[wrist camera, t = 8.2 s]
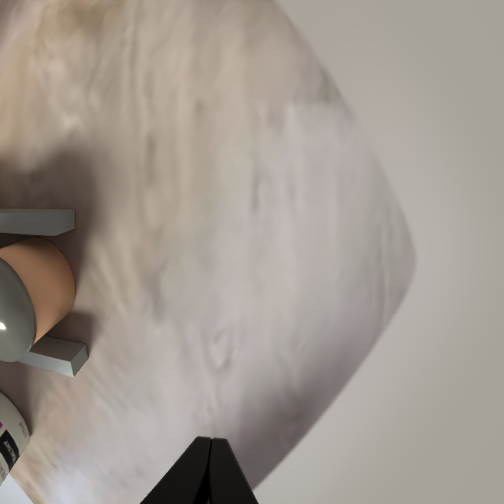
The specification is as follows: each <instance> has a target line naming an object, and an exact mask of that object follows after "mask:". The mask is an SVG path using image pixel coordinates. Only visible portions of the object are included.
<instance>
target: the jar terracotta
mask: <svg viewBox="0 0 504 504" xmlns="http://www.w3.org/2000/svg"><path fill="white" fill-rule="evenodd" d="M74 300H75V281H74V276H73V273H72V270H71V267H70V265H69V263H68V261H67V260H66V258H65V256H64V255H63V254H62V252H61V251H60V250H59V249H58V248H57V247H56V246H55V245H53V244H52V243H51V242H49V241H47V240H45V239H42V238H29V239H26V240H23V241H20V242H18V243H15V244H12V245H9V246H7V247H4V248H1V249H0V360H1V361H5V362H14V361H17V360H19V359H21V358H22V357H23V356H24V355H25V354H26V353H27V352H28V351H29V350H30V349H31V348H32V346H33V344H34V343H35V342H37V341H38V340H39V339H40V338H41V337H42V336H43V335H44V334H46V333H47V332H48V331H49V330H50V329H51V328H52V327H54V326H55V325H56V324H57V323H58V322H59V321H60V320H62V319H63V318H64V317H65V316H66V315H67V314H68V313H69V312H70V310H71V308H72V306H73V303H74Z"/></svg>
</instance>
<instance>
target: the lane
mask: <svg viewBox="0 0 504 504" xmlns="http://www.w3.org/2000/svg"><path fill="white" fill-rule="evenodd" d="M73 229H75V209H26V208H0V233H13V234H30V235H46V236H56V235H59V234H61V233H64V232H67V231H70V230H73ZM87 360H88V354H87V348H86V344H83V343H78V342H73V341H68V340H63V339H58V338H53V337H49V336H44V335H43V336H42V337H41V338H40V339H39V340H38V341H37V342H35V343H34V344H33V346H32V348H31V349H30V350H29V351H28V352H27V353H26V354H25V355H24V356H23V357H22V358H21V359H19V360H17V362H20V363H23V364H27V365H30V366H34V367H37V368H41V369H44V370H48V371H51V372H55V373H59V374H63V375H67V376H71V377H74V376H75V375H76V374H77V372H78V371H79V370H80V368H81V367H82V366H83V365H84V363H85V362H86V361H87Z"/></svg>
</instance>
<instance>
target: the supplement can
mask: <svg viewBox="0 0 504 504" xmlns="http://www.w3.org/2000/svg"><path fill="white" fill-rule="evenodd" d="M29 442H30V441H29V433H28V428H27V425H26V423H25V420H24V418H23V417H22V415H21V414H20V412H19V411H18V409H17V408H16V407H15V406H14V405H13V403H12V402H11V401H10V400H9V399H8V398H7V397H6V396H5V395H3V394H2V393H1V392H0V486H1V484H2V482H3V481H4V479H5V478H6V476H7V475H8V473H9V472H10V470H11V469H12V467H13V466H14V464H15V463H16V461H17V460H18V458H19V457H20V455H21V454H22V452H23V451H24V449H25V448H26V446H27V445H28V444H29Z"/></svg>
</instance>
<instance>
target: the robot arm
mask: <svg viewBox="0 0 504 504" xmlns="http://www.w3.org/2000/svg"><path fill="white" fill-rule="evenodd" d="M208 503H209V504H258V502H257V500H256V498H255V496H254V494H253V492H252V490H251V488H250V486H249V484H248V482H247V480H246V478H245V476H244V474H243V472H242V470H241V468H240V466H239V464H238V461H237V459H236V457H235V455H234V453H233V451H232V449H231V446H230V444H229V442H228V440H227V439H225V438H213V439H211V438H210V437H202V436H198V437H196V438H195V439H194V441H193V442H192V443H191V444H190V445H189V447H188V448H187V449H186V450H185V452H184V453H183V454H182V455H181V456H180V458H179V459H178V460H177V461H176V462H175V464H174V465H173V466H172V467H171V468H170V470H169V471H168V472H167V473H166V474H165V475H164V477H163V478H162V479H161V480H160V481H159V482H158V484H157V485H156V486H155V487H154V488H153V489H152V490H151V492H150V493H149V494H148V495H147V496H146V497H145V498H144V499H143V501H142V502H141V503H140V504H208Z"/></svg>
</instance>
